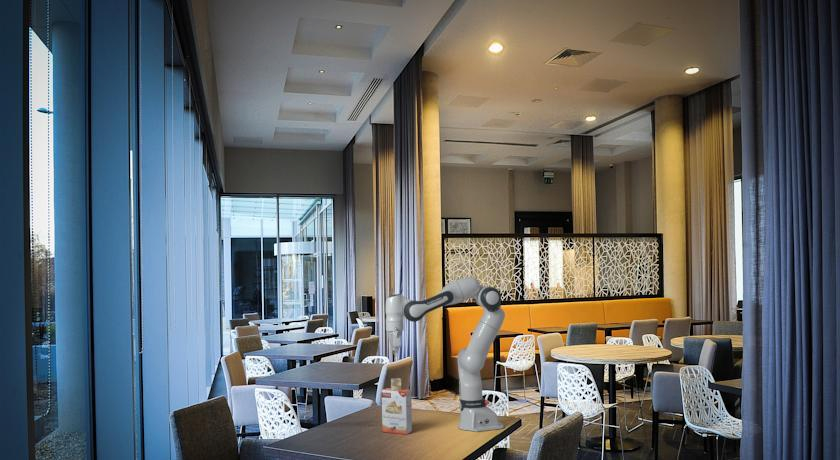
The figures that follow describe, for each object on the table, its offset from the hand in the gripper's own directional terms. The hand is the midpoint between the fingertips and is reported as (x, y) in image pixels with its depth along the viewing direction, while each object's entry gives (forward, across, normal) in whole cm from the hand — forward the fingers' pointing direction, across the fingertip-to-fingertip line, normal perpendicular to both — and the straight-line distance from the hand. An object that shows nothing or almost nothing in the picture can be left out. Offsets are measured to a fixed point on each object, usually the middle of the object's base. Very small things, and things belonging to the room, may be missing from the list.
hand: (395, 355), depth 312 cm
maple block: (+17, 0, 0) cm, 17 cm away
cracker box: (+38, 0, 0) cm, 38 cm away
